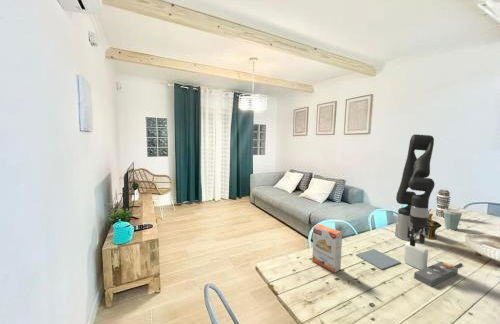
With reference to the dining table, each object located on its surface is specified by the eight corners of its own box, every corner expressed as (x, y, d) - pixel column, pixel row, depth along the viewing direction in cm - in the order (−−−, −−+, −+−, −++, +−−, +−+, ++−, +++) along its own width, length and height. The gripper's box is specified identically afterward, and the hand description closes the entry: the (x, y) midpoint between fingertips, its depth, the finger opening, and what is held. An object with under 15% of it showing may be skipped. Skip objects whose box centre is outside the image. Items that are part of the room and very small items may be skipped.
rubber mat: (355, 255, 127) (355, 254, 127) (373, 249, 134) (373, 249, 134) (381, 269, 113) (381, 268, 113) (400, 263, 119) (400, 262, 119)
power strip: (413, 277, 106) (413, 270, 106) (452, 261, 121) (453, 255, 121) (430, 286, 100) (431, 279, 99) (470, 268, 115) (470, 261, 114)
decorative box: (441, 238, 150) (443, 211, 148) (432, 240, 147) (434, 212, 145) (411, 228, 169) (413, 203, 167) (402, 229, 165) (404, 204, 164)
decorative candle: (450, 220, 186) (452, 191, 184) (436, 218, 191) (438, 190, 189) (447, 216, 194) (449, 189, 192) (434, 215, 199) (436, 188, 197)
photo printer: (402, 262, 120) (403, 241, 119) (406, 260, 122) (408, 239, 121) (423, 272, 111) (425, 249, 110) (428, 270, 113) (430, 247, 112)
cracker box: (311, 261, 120) (312, 225, 119) (318, 258, 124) (319, 223, 122) (334, 273, 109) (336, 234, 107) (341, 269, 113) (342, 231, 111)
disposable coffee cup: (456, 227, 170) (458, 209, 168) (463, 232, 160) (465, 213, 159) (439, 225, 174) (441, 207, 173) (445, 230, 164) (446, 211, 163)
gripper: (419, 211, 120) (417, 239, 121) (403, 214, 114) (401, 243, 115) (435, 215, 113) (432, 244, 115) (419, 218, 107) (417, 250, 109)
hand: (417, 244), depth 115 cm, fingers open, 8 cm apart
